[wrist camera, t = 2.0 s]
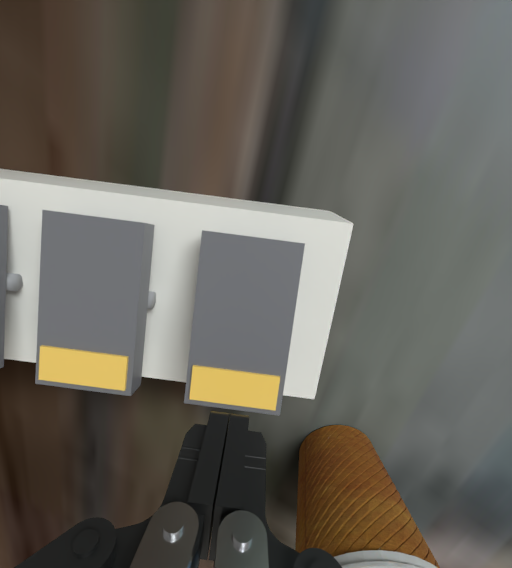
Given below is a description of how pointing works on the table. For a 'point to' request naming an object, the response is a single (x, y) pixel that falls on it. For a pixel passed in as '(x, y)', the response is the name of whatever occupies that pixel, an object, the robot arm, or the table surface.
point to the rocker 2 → (92, 302)
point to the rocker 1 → (3, 276)
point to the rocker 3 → (242, 322)
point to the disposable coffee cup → (354, 505)
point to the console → (174, 263)
